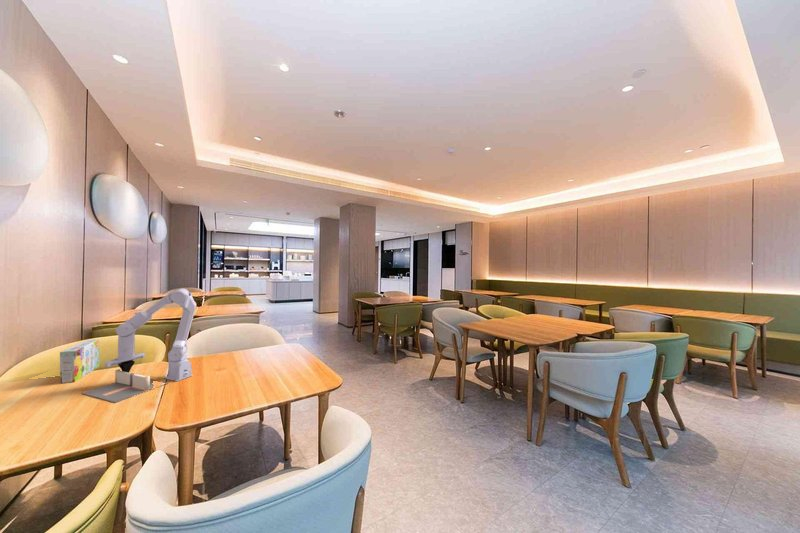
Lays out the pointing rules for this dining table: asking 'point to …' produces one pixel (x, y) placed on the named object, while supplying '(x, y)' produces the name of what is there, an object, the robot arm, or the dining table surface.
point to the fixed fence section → (141, 381)
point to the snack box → (79, 360)
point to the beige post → (123, 377)
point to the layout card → (116, 391)
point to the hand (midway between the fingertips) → (125, 377)
